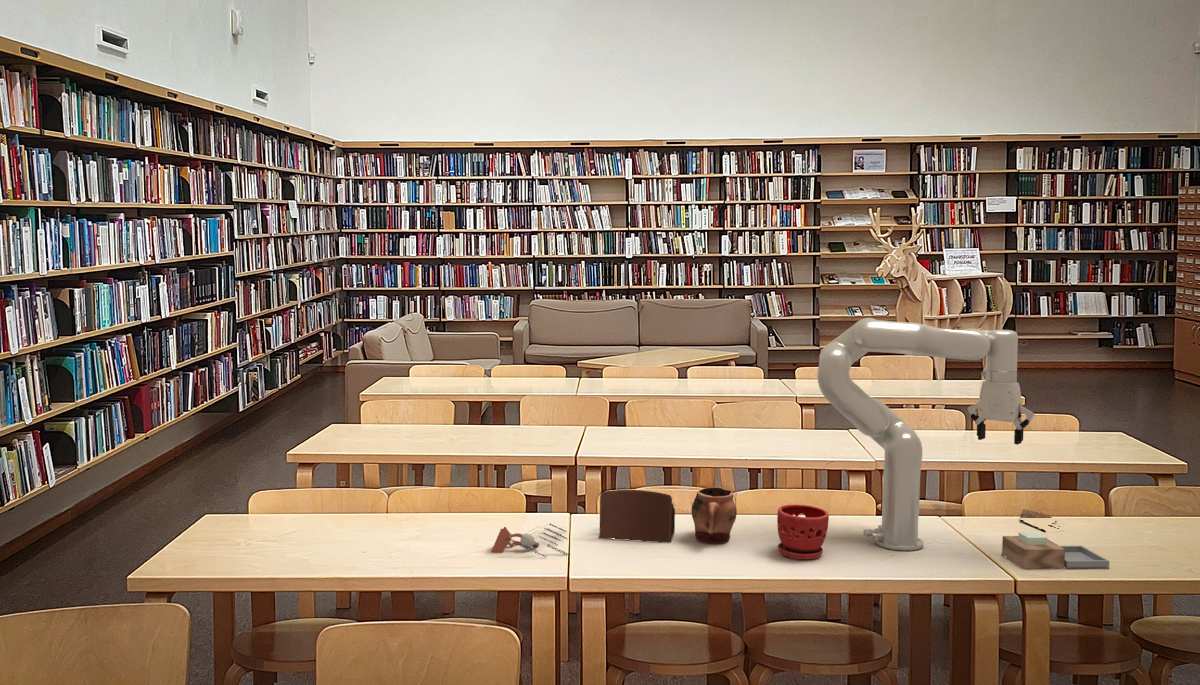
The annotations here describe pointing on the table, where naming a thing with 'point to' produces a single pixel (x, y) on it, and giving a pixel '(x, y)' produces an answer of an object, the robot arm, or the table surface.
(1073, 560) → the box
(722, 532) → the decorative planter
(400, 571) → the table surface
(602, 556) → the table surface
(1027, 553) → the brown wooden box
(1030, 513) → the wooden fragment
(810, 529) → the plant pot
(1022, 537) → the tile
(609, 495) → the letter holder
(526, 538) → the brown and grey pieces
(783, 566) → the table surface
